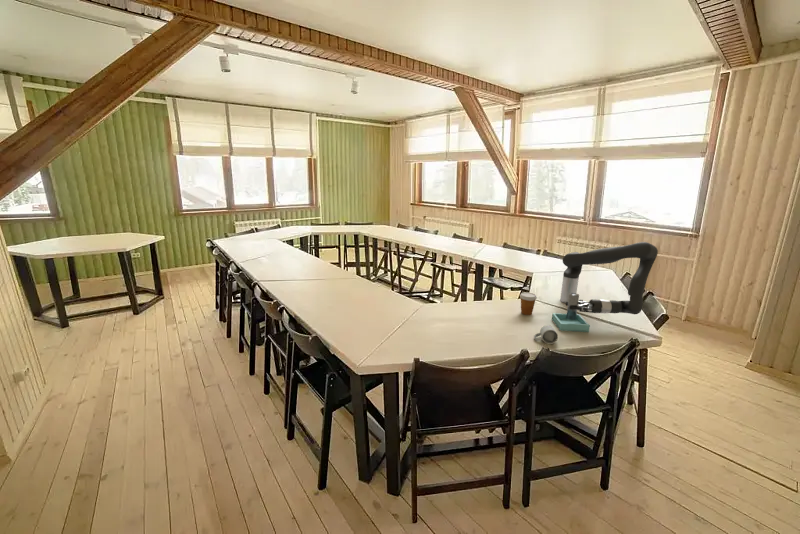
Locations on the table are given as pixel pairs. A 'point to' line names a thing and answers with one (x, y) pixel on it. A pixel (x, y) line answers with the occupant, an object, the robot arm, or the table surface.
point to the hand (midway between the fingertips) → (567, 305)
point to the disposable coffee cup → (527, 303)
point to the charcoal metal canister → (572, 301)
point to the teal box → (570, 323)
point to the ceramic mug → (547, 335)
